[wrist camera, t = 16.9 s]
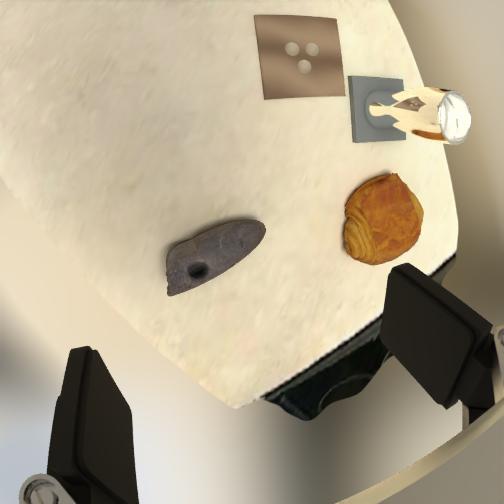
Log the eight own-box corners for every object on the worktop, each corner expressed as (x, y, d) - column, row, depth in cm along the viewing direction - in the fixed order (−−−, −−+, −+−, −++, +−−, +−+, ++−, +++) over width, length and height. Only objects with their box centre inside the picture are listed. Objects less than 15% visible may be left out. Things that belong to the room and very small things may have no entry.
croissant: (402, 232, 56) (434, 247, 49) (342, 268, 52) (373, 290, 46) (397, 160, 49) (434, 169, 42) (329, 189, 45) (367, 202, 38)
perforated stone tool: (252, 202, 43) (268, 218, 37) (264, 235, 46) (282, 255, 40) (151, 249, 42) (151, 273, 36) (169, 280, 44) (172, 307, 38)
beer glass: (370, 78, 39) (447, 76, 26) (402, 101, 42) (477, 109, 28) (355, 118, 41) (430, 128, 28) (387, 139, 44) (462, 157, 30)
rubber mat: (348, 76, 39) (351, 75, 38) (398, 79, 41) (402, 79, 40) (352, 142, 43) (356, 142, 42) (401, 139, 45) (405, 139, 44)
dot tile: (253, 15, 32) (254, 14, 32) (334, 19, 35) (336, 18, 34) (264, 99, 38) (265, 99, 37) (343, 95, 40) (345, 95, 40)
